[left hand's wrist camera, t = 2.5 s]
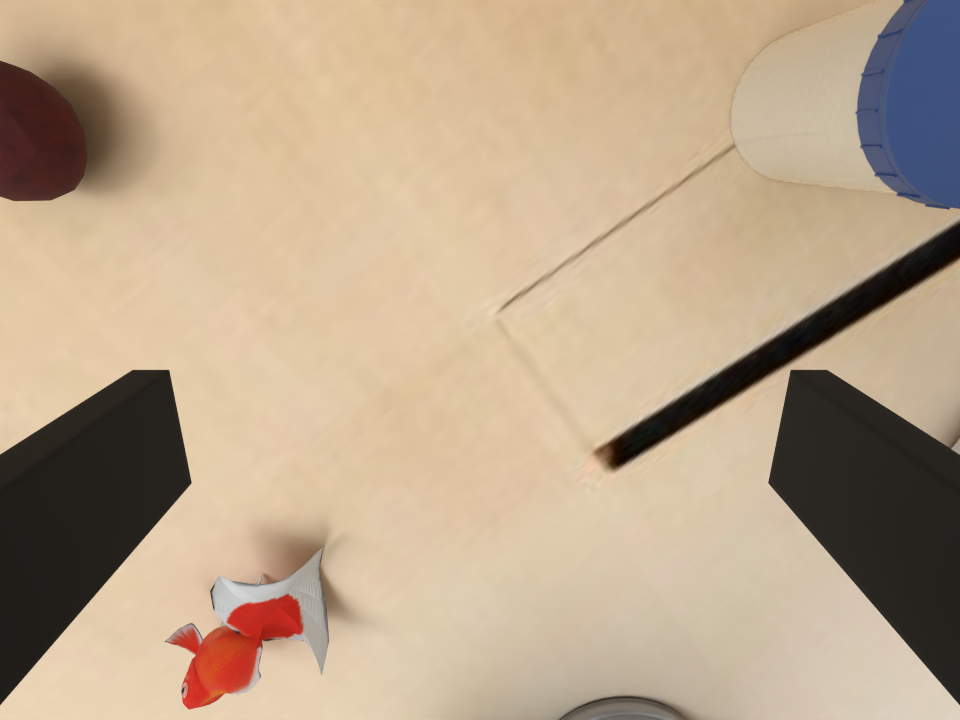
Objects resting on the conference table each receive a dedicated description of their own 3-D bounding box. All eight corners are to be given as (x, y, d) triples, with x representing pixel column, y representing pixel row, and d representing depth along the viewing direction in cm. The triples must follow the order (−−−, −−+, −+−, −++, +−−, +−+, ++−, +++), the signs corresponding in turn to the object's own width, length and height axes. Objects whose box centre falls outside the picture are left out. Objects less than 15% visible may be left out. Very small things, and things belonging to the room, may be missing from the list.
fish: (105, 617, 44) (109, 730, 36) (279, 482, 47) (316, 560, 40) (199, 671, 50) (220, 778, 43) (346, 549, 54) (390, 627, 46)
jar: (903, 81, 35) (1176, 37, 22) (806, 207, 38) (994, 241, 24) (794, -4, 34) (1013, -109, 20) (701, 134, 36) (837, 125, 23)
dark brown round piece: (45, 42, 35) (-58, 17, 28) (139, 156, 37) (64, 158, 30) (-36, 116, 36) (-152, 109, 29) (59, 222, 38) (-29, 237, 32)
